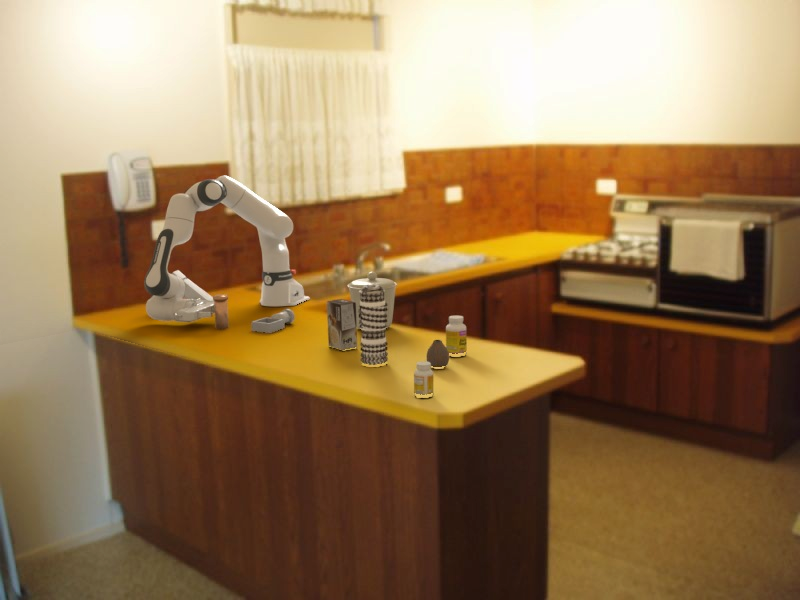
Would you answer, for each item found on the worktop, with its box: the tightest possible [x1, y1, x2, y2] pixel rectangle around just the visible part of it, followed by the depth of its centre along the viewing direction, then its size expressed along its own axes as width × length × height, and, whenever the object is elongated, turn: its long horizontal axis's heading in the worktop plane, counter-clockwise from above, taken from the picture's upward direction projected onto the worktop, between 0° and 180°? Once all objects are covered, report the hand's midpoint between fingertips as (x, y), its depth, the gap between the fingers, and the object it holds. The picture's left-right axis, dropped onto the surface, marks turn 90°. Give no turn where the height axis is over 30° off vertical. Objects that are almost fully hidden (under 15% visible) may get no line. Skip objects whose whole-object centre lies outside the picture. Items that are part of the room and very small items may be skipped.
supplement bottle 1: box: [413, 360, 434, 395], centre depth 258 cm, size 5×5×10 cm
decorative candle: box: [358, 285, 389, 365], centre depth 292 cm, size 9×9×25 cm
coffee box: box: [326, 298, 358, 350], centre depth 315 cm, size 9×6×16 cm
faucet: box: [171, 269, 214, 301], centre depth 383 cm, size 6×16×20 cm
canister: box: [347, 271, 398, 330], centre depth 343 cm, size 18×18×21 cm
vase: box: [426, 339, 450, 367], centre depth 288 cm, size 7×7×9 cm
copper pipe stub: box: [212, 294, 230, 330], centre depth 350 cm, size 6×6×12 cm
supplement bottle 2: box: [445, 315, 468, 354], centre depth 302 cm, size 7×7×13 cm
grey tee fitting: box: [250, 308, 296, 334], centre depth 349 cm, size 17×9×6 cm, turn 149°
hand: (217, 312), depth 351 cm, fingers open, 8 cm apart
